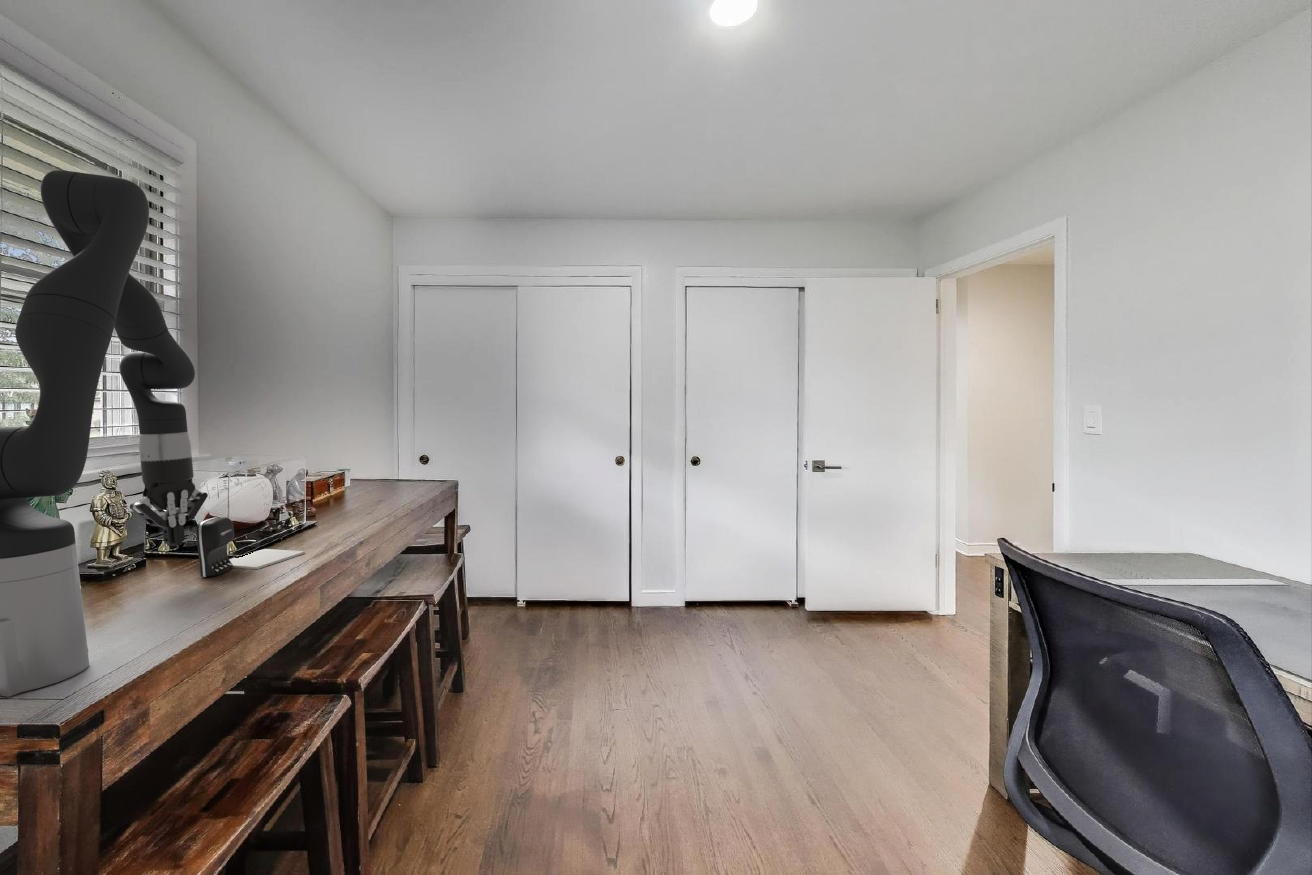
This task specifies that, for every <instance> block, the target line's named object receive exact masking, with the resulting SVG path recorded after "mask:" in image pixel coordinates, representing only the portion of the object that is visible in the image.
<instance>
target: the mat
mask: <svg viewBox="0 0 1312 875" xmlns="http://www.w3.org/2000/svg"><path fill="white" fill-rule="evenodd" d="M250 553H251V554H249V553H247V554H248V555H245V554H244V555H245V556H243V557H239V558H235V557H232V558H229V560H230V562H231V563H232V564H233V567H232V568H231V569H246V570H256V569H257V570H260V569H263V568H264V567H265V568H267V567H269V566H271V565H274V564H277V563H280V562H283V561H286V560H289V559H292V558H295V557H298V556H301V555H304V554H306V551H302V550H290V549H275V548H274V549H273V548H263V549H260V550H256V551H253V553H252V552H250ZM268 565H269V566H268Z"/></svg>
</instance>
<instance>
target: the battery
mask: <svg viewBox="0 0 1312 875" xmlns="http://www.w3.org/2000/svg"><path fill="white" fill-rule="evenodd" d="M232 521H233V520H231V519H230V518H229V517H225V516H224V517H217V516H214V517H212V518H211V517H210V518H207V519H205V520H203V521H200V522H198V524H197V525H196V528H195V529H196V530H195V532H196V534H195V535H196V544H197V545H196V546H197V552H198V553H197V554H198V561H199V569H200V570H199V572H200V573H199V574H200V577H203V578H207V577H215V576H216V577H217V576H219V575H221V574H223V573H224V574H225V573H226V572H228V571H229V570H231V569H233V568H232V567H233V564H232V563H231V562H230V560H229V559H230V558H229V555H228V547H227V546H228V544H229V543H230V542H232V541H233V540H235V531H234V524H233V522H232Z"/></svg>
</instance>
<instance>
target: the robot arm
mask: <svg viewBox="0 0 1312 875" xmlns="http://www.w3.org/2000/svg"><path fill="white" fill-rule="evenodd" d="M40 197H41V202H42V205H43V208H44V209H45V212H46V214H47V216H48V218H49V220H50V222H51V224H52V226H53V227H54V229H55V230H56V232H57V234H58V235H59V237H60V238H61V239H62V241H63V242H64V245H65V246H66V247H67V249H68V250H69V252H70V254H71V255H72V256H73V257H72V258H70V259H68V260H67V261H65V262H63V263H62V264H60V265H59V266H57V267H55V268H54V269H53V270H51V271H50V272H48V273H46V274H45V275H43V277H41V278H40V279H39V280H37V281H36V282H35V283H34V284H33V285H32V286H31V288H30V289H29V290H28V292H27V294H26V295H25V298H24V301H23V304H22V307H21V310H20V313H19V316H18V319H17V321H16V325H15V326H16V327H15V331H14V334H15V340H16V343H17V345H18V348H19V350H20V351H21V354H22V355H23V357H24V359H25V360H26V362H27V364H28V365H29V367H30V369H31V371H32V372H33V374H34V375H35V378H36V380H37V382H38V385H39V400H38V405H37V409H36V413H35V415H34V418H33V420H32V422H31V423H30V424H29V425H17V426H16V425H12V426H11V425H8V426H0V697H2V696H3V697H12V696H15V695H17V694H20V693H24V692H28V691H32V690H36V689H41V688H43V687H46V686H50V685H53V684H56V683H59V682H61V681H64V680H68V679H69V678H72V677H74V676H75V675H78V674H79V673H81V672H83V671H84V670H86V669H87V668H88V667H89V665H90V660H89V648H88V640H87V631H86V624H85V622H86V621H85V615H84V614H85V613H84V605H83V596H82V595H83V594H82V587H81V577H80V568H79V558H78V550H77V549H78V548H77V540H76V533H75V527H74V525H73V524H72V523H71V522H70V521H68V520H66V519H62V518H59V517H54V516H51V515H48V514H45V513H43V512H41V511H39V510H38V509H36V508H34V507H33V506H32V505H31V503H30V502H29V500H28V498H44V497H55V496H59V495H63V494H66V493H67V492H69V491H71V490H72V489H73V488H74V487H75V486H76V485H77V483H78V482H79V481H80V478H81V477H82V474H83V472H84V470H85V469H84V468H85V466H86V462H87V457H88V451H89V445H90V435H91V428H92V421H93V413H94V405H95V400H96V395H97V390H98V386H99V381H100V379H101V378H100V377H101V373H102V369H103V365H104V363H105V359H106V356H107V353H108V349H109V346H110V344H111V340H112V337H113V333H114V330H115V333H116V335H117V338H118V339H119V341H120V343H121V344H122V346H124V347H126V348H127V349H129V350H134V351H132V352H129V353H127V354H125V355H124V356H123V357H122V359H121V360H120V362H119V373H120V375H121V376H120V377H121V379H122V381H123V383H124V384H125V387H126V389H127V391H128V393H129V395H130V397H131V400H132V402H133V405H134V408H135V410H136V413H137V414H136V415H137V421H138V431H139V442H138V443H139V444H138V445H139V446H138V450H139V459H140V469H141V471H140V472H141V479H142V483H143V485H144V488H143V491H142V497H141V498H140V499H139V500H138V501H137V502H132V503H130V505H129V509H130V510H131V511H132V512H134V513H135V514H136V515H138V516H139V517H140V518H141V519H142V520H144V521H145V522H146V523H147V524H149V525H150V526H152V527H160V528H162V534H163V535H162V537H163V542H164V544H166V545H167V546H168V547H176V546H177V547H178V546H179V545H180V546H181V545H183V544H184V542H185V528H184V527H185V526H184V525H185V524H186V523H187V522H189V521H193V520H194V519H195V518H196V516H197V514H198V513H199V511H201V510H200V509H201V508H202V506H203V504H204V503H205V501H206V500H207V498H208V496H209V495H208V492H203V491H200V490H198V489H196V485H195V483H194V482H193V479H194V476H195V475H194V467H193V457H192V446H191V440H190V437H189V431H188V430H189V429H188V419H187V411H186V407H185V405H184V404H183V403H180V402H175V401H169V400H164V399H163V400H162V399H159V398H157V397H156V396H155V395H154V393H153V392H152V390H181V389H185V388H188V387H189V386H191V384H192V383H193V381H194V379H195V377H196V376H195V374H196V371H195V370H196V369H195V367H194V365H193V362H192V360H191V359H190V357H189V355H188V354H187V353H186V351H184V350H183V348H182V347H181V346H180V344H178V342H177V341H176V339H175V338H174V337H173V336H172V334H171V332H170V331H169V328H168V326H167V323H166V320H165V316H164V314H163V312H162V310H161V307H160V304H159V303H158V301H157V299H156V298H155V296H154V295H153V293H151V292H150V290H149V289H148V288H147V287H146V286H145V285H144V284H143V283H142V282H141V281H140V280H138V279H137V278H136V277H135V276H134V275H133V274H132V273H130V271H131V268H132V266H133V264H134V261H135V259H136V257H137V254H138V252H139V249H140V247H141V245H142V243H143V240H144V238H145V235H146V233H147V231H148V230H147V229H148V224H149V220H150V206H149V205H150V204H149V201H148V198H147V195H146V194H145V192H144V190H143V189H142V188H141V187H140V186H139V185H138V184H137V183H135V182H133V181H132V180H131V181H130V180H128V179H123V178H120V177H115V176H108V175H103V174H102V175H101V174H94V173H88V172H79V171H70V170H63V169H62V170H60V169H59V170H58V169H57V170H52V171H49V172H47V173H46V174H45V175H44V177H43V178H42V181H41V183H40ZM152 508H154V509H155V511H154V510H153V509H152Z"/></svg>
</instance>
